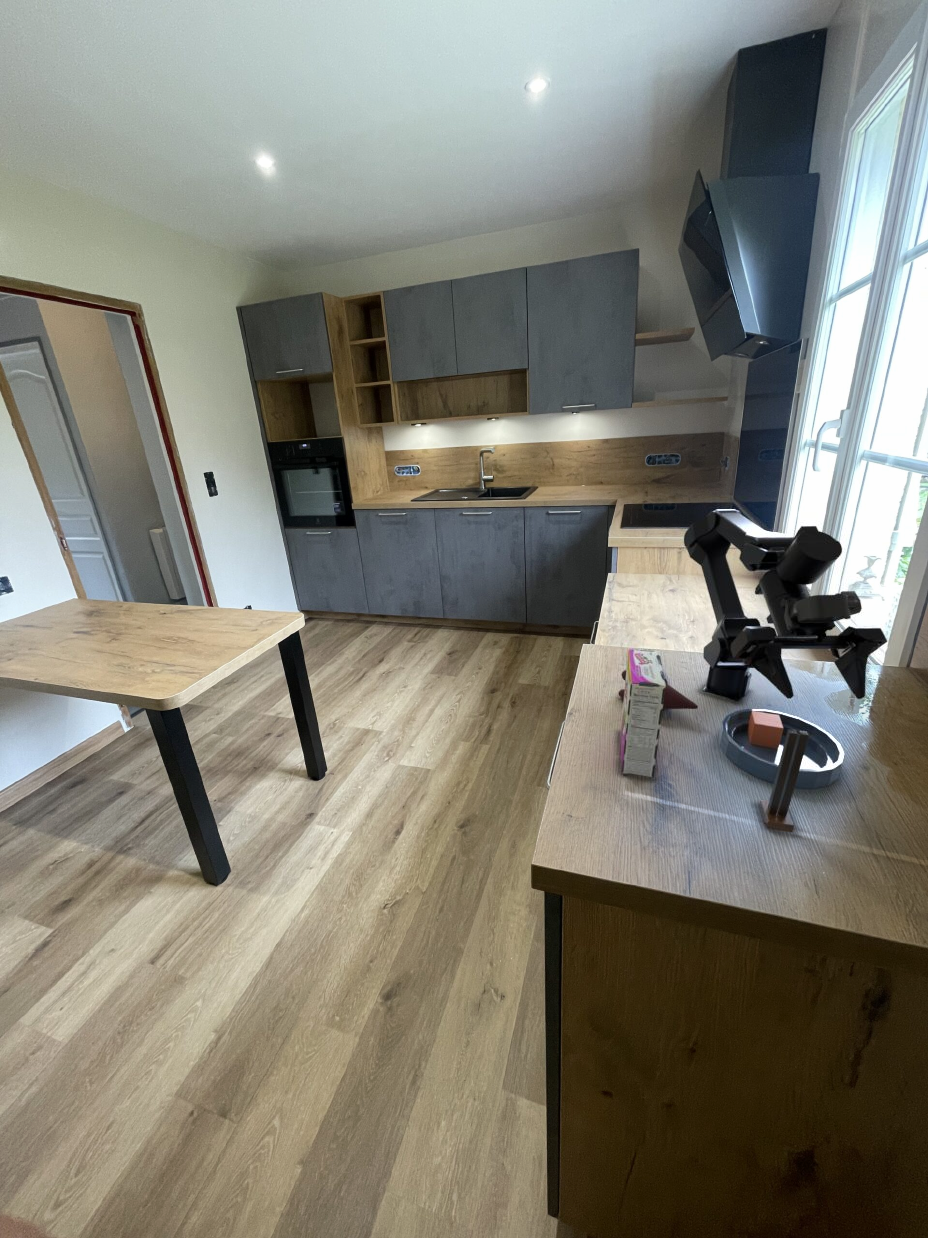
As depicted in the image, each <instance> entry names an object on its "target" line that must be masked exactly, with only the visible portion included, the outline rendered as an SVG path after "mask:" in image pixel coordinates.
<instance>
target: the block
mask: <svg viewBox="0 0 928 1238" xmlns="http://www.w3.org/2000/svg"><path fill="white" fill-rule="evenodd" d="M783 729H784V728H783V725H782V722H781V719H780V717H779V715H775V714H769V713H763V712H756V711H751V716H750V720H749V725H748V729H747V732H748V736H749V741H750V744H753V745H759V746H764V747H770V748H775V749H778V748H779V744H780V740H781V736H782V733H783Z"/></svg>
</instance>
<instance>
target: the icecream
mask: <svg viewBox="0 0 928 1238" xmlns="http://www.w3.org/2000/svg"><path fill="white" fill-rule="evenodd" d="M626 670H627V669H624V670H623V671H622V672H621V678H622V680H623V681H624V682H625V681H626ZM664 679H665V684H666V688H665V695H664V701H663V710H697V709H698V707H699V706H698V705H697V704H696V703H695V702H694V701H692V700H691V699H689V698H688V697H687V696H685V695H684V694H682V693H681V692H679V691H678V690H677V689H675V688H674V687H673V686H672V685H669V682H668V680H667V678H665V677H664ZM624 692H625V688H621V689H620V690H619V691H618V694H617V695H618V697H620V699H623V700H624Z"/></svg>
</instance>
